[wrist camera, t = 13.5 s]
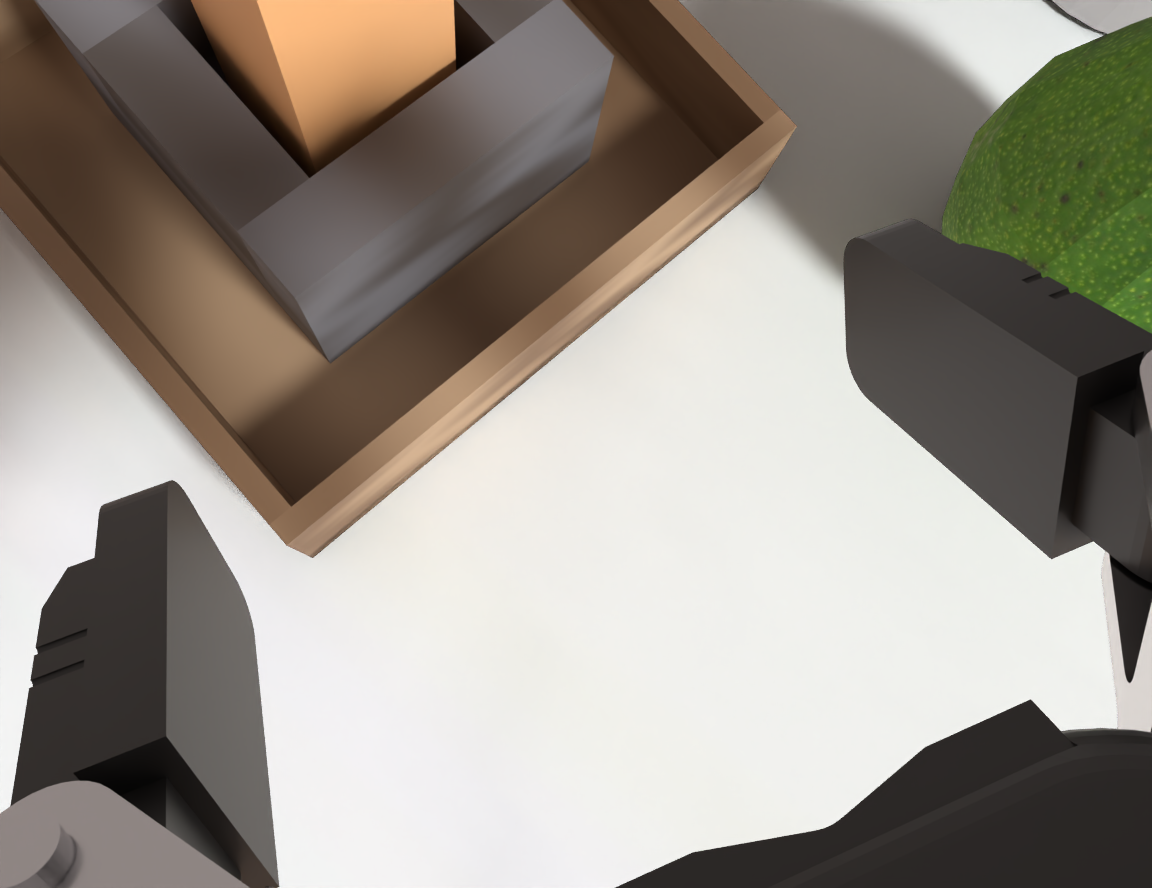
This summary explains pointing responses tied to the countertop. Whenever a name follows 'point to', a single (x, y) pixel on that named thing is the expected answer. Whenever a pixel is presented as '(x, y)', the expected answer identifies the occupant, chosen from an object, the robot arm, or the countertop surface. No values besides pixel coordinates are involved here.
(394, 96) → the plug
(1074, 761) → the robot arm
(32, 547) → the countertop surface
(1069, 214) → the avocado
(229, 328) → the walled tray
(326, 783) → the countertop surface
